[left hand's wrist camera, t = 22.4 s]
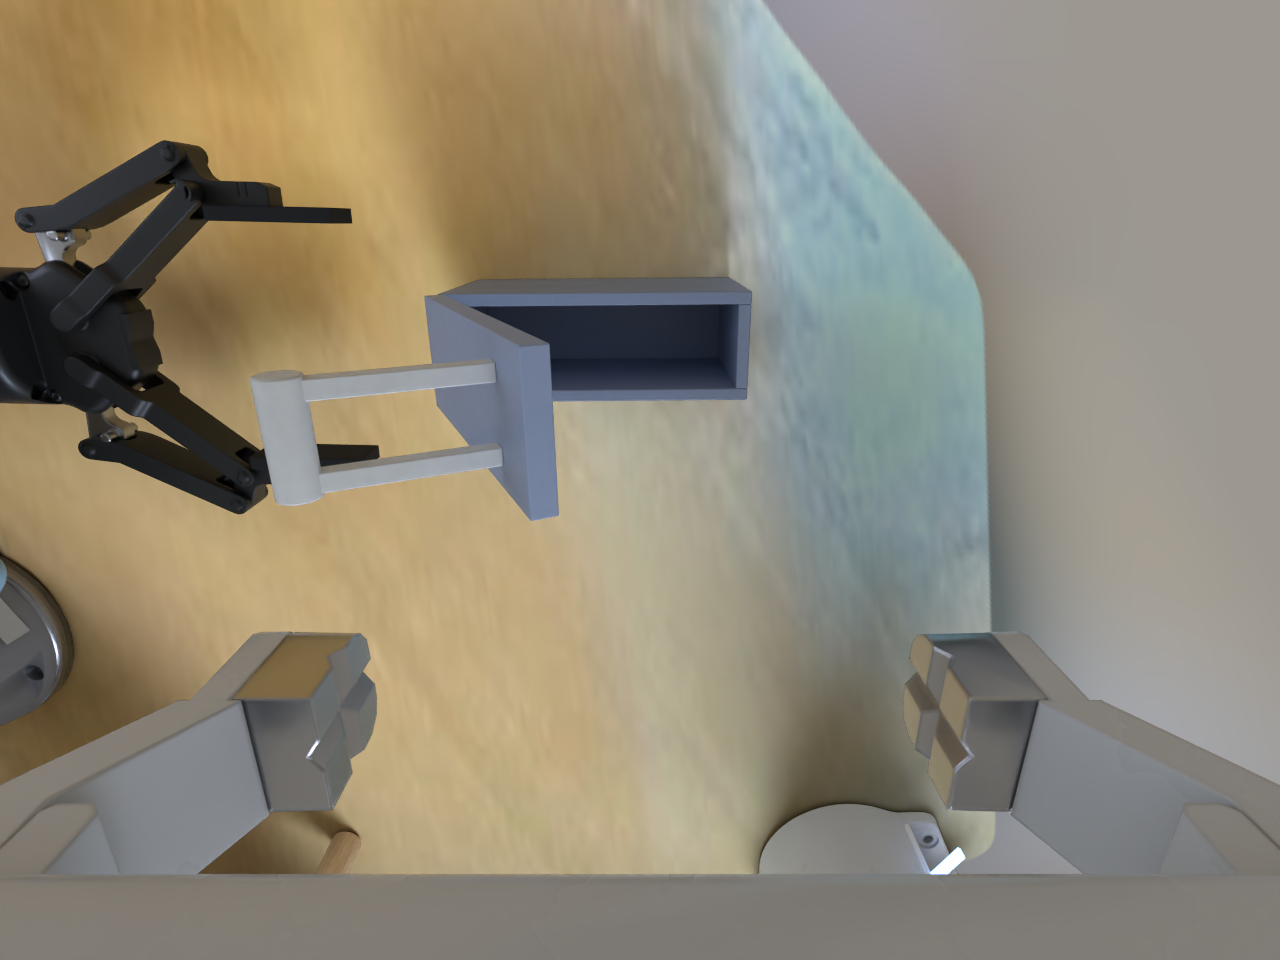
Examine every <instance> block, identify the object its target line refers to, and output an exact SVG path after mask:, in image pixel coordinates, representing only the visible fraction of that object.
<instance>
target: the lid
mask: <svg viewBox="0 0 1280 960" xmlns="http://www.w3.org/2000/svg"><path fill="white" fill-rule="evenodd" d="M425 306H426V315H427V323H428V332H429V341H430V349H431V358H432V364H426V365H415V366H404V367H392V368H381V369H370V370H359V371H348V372H336V373H325V374H314V375H303V373H302V372H299V371H293V370H281V371H271V372H264V373H260V374H256V375H254V376H252V377H251V378H250V384H251V388H252V393H253V398H254V402H255V407H256V412H257V417H258V421H259V426H260V431H261V436H262V440H263V445H264V450H265V455H266V459H267V464H268V469H269V473H270V478H271V483H272V488H273V492H274V497H275V501H276V502H277V503H278V504H280V505H285V506H296V505H303V504H308V503H311V502H314V501H317V500H319V499H321V498H322V497H323V496H324V494H325V493H328V492H334V491H341V490H347V489H354V488H360V487H367V486H373V485H380V484H386V483H393V482H400V481H406V480H413V479H419V478H426V477H432V476H439V475H445V474H452V473H458V472H465V471H471V470H478V469H484V468H488V469H489V470H490V471H491V472H492V474H493V475H494V476H495V477H496V479H497V480H498V481H499V482H500V484H501V485H502V486H503V487H504V488H505V490H506V491H507V492H508V493H509V495H510V496H511V497H512V498H513V500H514V501H515V502H516V503H517V504H518V506H519V507H520V508H521V509H522V511H523V512H524V513H525V514H526V516H527V517H528V518H529V519H530V520H531V521H534V520H539V519H544V518H550V517H555V516H558V515H559V510H558V491H557V473H556V455H555V436H554V418H553V400H552V381H551V363H550V345H549V343H547V342H545V341H543V340H541V339H538V338H536V337H534V336H532V335H530V334H527V333H525V332H523V331H521V330H519V329H517V328H514V327H512V326H510V325H508V324H506V323H503V322H501V321H499V320H497V319H495V318H492V317H490V316H488V315H486V314H484V313H482V312H479V311H477V310H475V309H473V308H471V307H468V306H466V305H464V304H462V303H460V302H458V301H455V300H453V299H451V298H449V297H447V296H444V295H432V296H425ZM426 389H435V393H436V401H437V406H438V407H439V409H440V410H441V411H442V412H443V413H444V415H445V416H446V417H447V418H448V420H449V421H450V422H451V423H452V425H453V426H454V427H455V428H456V429H457V431H458V432H459V433H460V434H461V436H462V437H463V438H464V439H465V441H466V442H467V443H468V444H469V445H470V446H468V447H461V448H453V449H446V450H439V451H432V452H425V453H417V454H410V455H403V456H396V457H389V458H381V459H374V460H367V461H360V462H353V463H345V464H338V465H331V466H324V467H321V466H320V461H319V455H318V450H317V444H316V439H315V433H314V428H313V422H312V417H311V411H310V406H309V401H319V400H329V399H338V398H348V397H358V396H367V395H377V394H387V393H397V392H406V391H416V390H426Z"/></svg>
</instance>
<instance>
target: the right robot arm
mask: <svg viewBox="0 0 1280 960" xmlns="http://www.w3.org/2000/svg"><path fill="white" fill-rule="evenodd" d="M175 185H176V186H175ZM174 186H175V187H174ZM172 187H174V188H173V190H172V191H171V192H170V193H169V194H168V195H167V196H166V197H165V198H164V199H163V200H162V202H161V203H160V204H159V205H158V206H157V207H156V208H155V209H154V210H153V211H152V212H151V214H150V215H149V216H148V217H147V218H146V219H145V220H144V221H143V222H142V223H141V224H140V226H139V227H138V228H137V229H136V230H135V231H134V232H133V233H132V234H131V235H130V236H129V238H128V239H127V240H126V241H125V242H124V243H123V244H122V245H121V246H120V247H119V249H118V250H117V251H116V252H115V253H114V254H113V255H112V256H111V257H110V258H109V259H108V261H106V262H105V263H103V264H101V265H99V266H97V267H95V268H94V269H93V268H92V267H90V266H88V265H87V264H85V263H83V262H81V261H79V260H76V256H75V252H76V250H77V248H78V247H80V246H82V245H84V244H85V243H86V242H87V240H89V239H90V238H91V233H90V231H89V230H91V229H97V228H100V227H103V226H105V225H107V224H110V223H111V222H113V221H115V220H117V219H118V218H120V217H122V216H124V215H125V214H127V213H129V212H130V211H132V210H134V209H136V208H137V207H139V206H141V205H143V204H144V203H146V202H148V201H149V200H151V199H153V198H155V197H156V196H158V195H160V194H162V193H163V192H165V191H167V190H169V189H170V188H172ZM15 221H16V223H17V225H18V226H19V227H20V228H21V229H22V230H23V231H25V232H29V233H35V235H36V237H37V240H38V242H39V245H40V248H41V250H42V253H43V256H44V258H45V261H46V262H45V263H43V264H42V265H40V266H39V267H37V268H12V267H0V403H21V404H66V405H70V406H73V407H75V408H78V409H80V410H82V411H84V412H86V417H87V424H88V431H89V438H87V439H84V440H82V441H80V443H79V444H78V449H79V452H80V453H81V454H82V455H83V456H84V457H86V458H88V459H93V460H101V461H109V462H117V463H121V464H124V465H126V466H128V467H130V468H133V469H135V470H137V471H140V472H142V473H144V474H146V475H149V476H151V477H153V478H155V479H158V480H160V481H162V482H165V483H167V484H169V485H171V486H174V487H176V488H178V489H181V490H183V491H185V492H187V493H190V494H192V495H194V496H197V497H199V498H201V499H203V500H206V501H208V502H210V503H213V504H215V505H217V506H219V507H222V508H224V509H226V510H229V511H231V512H233V513H236V514H243V513H245V512H246V511H248V510H249V509H251V508H252V507H253V506H255V505H256V504H257V503H259V502H260V501H261V500H263V499H264V498H265V497H266V496H267V495H268V489H267V487H266V484H272V483H271V478H270V473H269V469H268V464H267V459H266V455H265V450H264V449H262V450H259V449H258V448H256V447H255V446H253V445H252V444H251V443H249V442H248V441H246V440H245V439H244V438H242V437H241V436H240V435H238V434H237V433H235V432H234V431H233V430H231V429H230V428H228V427H227V426H226V425H224V424H223V423H221V422H220V421H219V420H217V419H216V418H215V417H213V416H212V415H210V414H209V413H208V412H206V411H205V410H203V409H202V408H201V407H199V406H198V405H196V404H195V403H194V402H192V401H191V400H190V399H188V398H187V397H185V396H184V395H183V394H181V393H180V388H179V386H178V385H176V384H175V383H174V382H172V381H171V380H170V379H168V378H167V377H166V376H164V375H163V374H161V373H160V372H159V371H157V370H158V365H159V364H163V362H162V357H161V353H160V350H159V347H158V345H157V343H156V341H155V339H154V337H153V332H154V321H153V317H152V313H151V310H148V309H145V307H144V305H143V304H142V302H141V301H140V300H139V299H140V298H141V297H142V296H143V295H144V293H145V292H146V291H147V290H148V289H149V288H150V287H151V286H152V285H153V284H154V283H155V281H156V279H155V277H156V275H157V274H158V273H159V272H160V271H161V270H162V269H163V268H164V267H165V266H166V265H167V264H168V263H169V262H170V261H171V260H172V258H173V257H174V256H175V255H176V254H177V253H178V252H179V251H180V250H181V249H182V248H183V247H184V246H185V245H186V244H187V243H188V242H189V241H190V239H191V238H192V237H193V236H194V235H195V234H196V233H197V232H198V231H199V230H200V229H201V228H202V227H203V226H204V225H205V224H206V223H207V222H208V221H249V222H291V223H352V217H351V209H346V208H317V207H283V203H282V196H281V189H280V187H277V186H275V185H273V184H270V183H261V182H235V181H220V180H218V179H217V178H215V177H214V176H213V174H212V173H211V171H210V169H209V167H208V156H207V154H206V152H205V151H204V150H203V149H202V148H201V147H199V146H195V145H190V144H184V143H178V142H171V141H165V140H164V141H161V142H159V143H157V144H155V145H154V146H152V147H150V148H149V149H147V150H145V151H144V152H142V153H140V154H138V155H137V156H135V157H133V158H132V159H130V160H128V161H127V162H125V163H123V164H122V165H120V166H118V167H117V168H115V169H113V170H111V171H110V172H108V173H106V174H105V175H103V176H101V177H100V178H98V179H96V180H95V181H93V182H91V183H90V184H88V185H86V186H85V187H83V188H81V189H79V190H78V191H76V192H74V193H73V194H71V195H69V196H68V197H66V198H64V199H63V200H61V201H59V202H58V203H56V204H54V205H47V206H38V207H28V208H21V209H18V210H17V211H16V213H15ZM142 387H143V388H144V389H146V390H144V391H138V390H139V389H140V388H142ZM116 407H119V408H120V409H122V410H123V411H125V412H126V413H128V414H130V415H132V416H135V417H141V418H144V419H146V420H147V421H148V422H150V423H151V424H153V425H154V426H156V427H157V428H158V429H160V430H161V431H163V432H164V433H166V434H167V435H168V436H170V437H171V438H173V439H174V440H176V441H177V442H178V443H180V444H181V445H183V446H184V447H186V448H187V449H186V448H183V447H181V446H179V445H177V444H174V443H172V442H170V441H168V440H165V439H163V438H161V437H159V436H156V435H153V434H150V433H147V432H143V431H137V430H138V427H137V425H136V424H135V423H132V422H131V423H128V422H126V421H123V420H121V419H120V418H118V417H117V416H116V414H115V412H114V408H116ZM317 450H318V455H319V461H320V466H321V467H324V466H331V465H338V464H345V463H353V462H360V461H367V460H374V459H378V458H379V457H380V455H379V447H378V445H337V444H317ZM73 658H74V647H73V640H72V635H71V632H70V629H69V626H68V623H67V621H66V619H65V617H64V615H63V613H62V611H61V609H60V608H59V606H58V605H57V603H56V602H55V600H54V599H53V598H52V597H51V595H50V594H49V593H48V592H47V591H46V590H45V589H44V588H43V587H42V585H41V584H40V583H38V582H37V581H36V580H35V579H34V578H33V577H32V576H30V575H29V574H28V573H27V572H25V571H24V570H23V569H21V568H20V567H18V566H17V565H15V564H14V563H12V562H10V561H9V560H7V559H5V558H4V557H2V556H0V726H1V725H3V724H6V723H8V722H11V721H13V720H15V719H18V718H20V717H22V716H24V715H26V714H28V713H30V712H31V711H33V710H34V709H36V708H37V707H38V706H40V705H41V704H42V703H43V702H45V701H46V700H47V699H48V698H50V697H51V696H52V695H53V694H55V693H56V692H57V691H58V690H59V689H60V688H61V687H62V685H63V684H64V683H65V681H66V680H67V678H68V676H69V674H70V671H71V668H72V664H73Z"/></svg>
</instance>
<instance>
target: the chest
mask: <svg viewBox="0 0 1280 960" xmlns="http://www.w3.org/2000/svg"><path fill="white" fill-rule="evenodd" d="M438 295H444V296H447V297H449V298H451V299H453V300H455V301H458V302H460V303H462V304H464V305H466V306H468V307H471V308H473V309H475V310H477V311H479V312H482V313H484V314H486V315H488V316H490V317H492V318H495V319H497V320H499V321H501V322H503V323H506V324H508V325H510V326H512V327H514V328H517V329H519V330H521V331H523V332H525V333H527V334H530V335H532V336H534V337H536V338H538V339H541V340H543V341H545V342H547V343H549V345H550V363H551V381H552V400H553V401H646V400H746V399H747V384H748V363H749V342H750V321H751V301H752V292H751V291H750V290H748V289H747V288H745V287H743V286H742V285H740V284H739V283H737V282H735V281H734V280H732V279H731V278H729V277H701V278H589V279H479V280H476V281H474V282H471V283H468V284H465V285H462V286H460V287H457V288H454V289H451V290H449V291H446V292H443V293H440V294H438Z"/></svg>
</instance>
